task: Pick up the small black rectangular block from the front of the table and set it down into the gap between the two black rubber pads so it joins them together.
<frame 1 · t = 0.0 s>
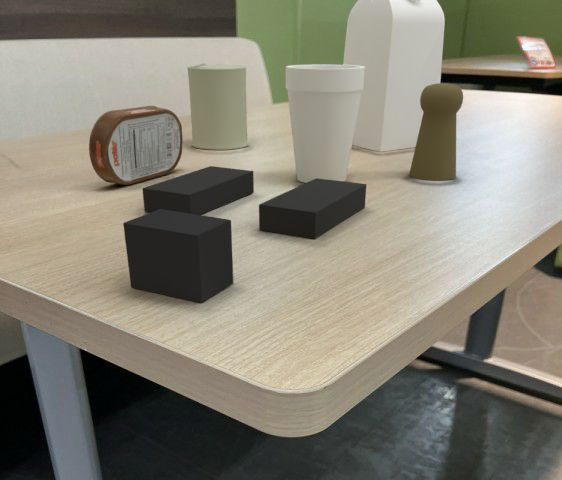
can: (220, 146, 102), on the table
olive knobbed tapered post: (432, 176, 83), on the table
black rectangular block: (182, 285, 48), on the table
pad pair: (256, 209, 67), on the table
milk: (384, 144, 105), on the table
tin: (144, 180, 80), on the table
foam cup: (321, 180, 81), on the table
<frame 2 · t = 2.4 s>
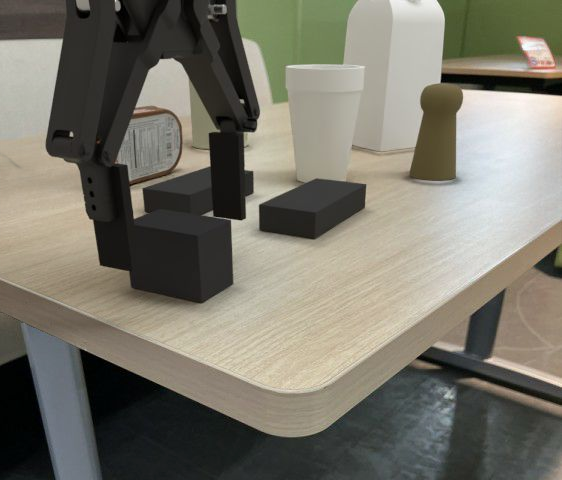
hand: (180, 240, 46), 4 cm above the table, tool pointing down, fingers open, 13 cm apart
nothing on the table moved.
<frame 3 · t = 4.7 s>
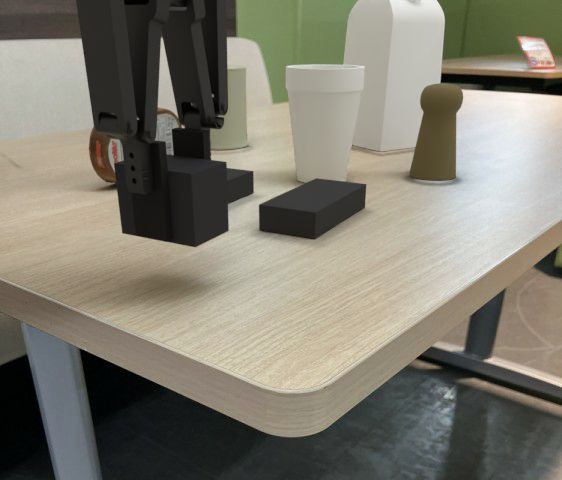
hand: (175, 227, 46), 4 cm above the table, tool pointing down, fingers closed on black rectangular block, 4 cm apart
black rectangular block: (175, 232, 46), point 4 cm above the table, touching gripper
everything else where it was.
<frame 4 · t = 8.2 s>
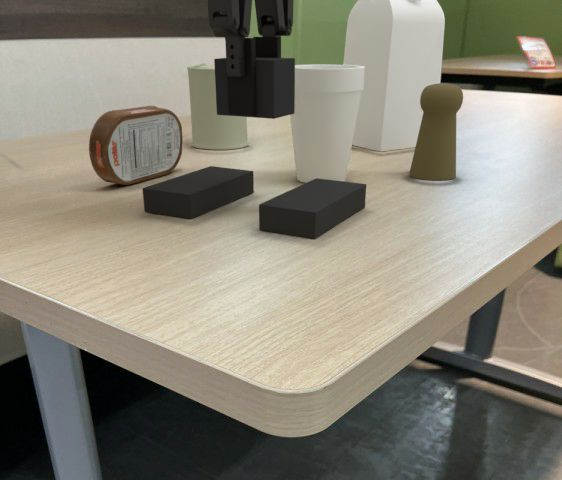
hand: (255, 110, 62), 10 cm above the table, tool pointing down, fingers closed on black rectangular block, 4 cm apart
black rectangular block: (255, 114, 63), point 10 cm above the table, touching gripper
everything else where it was.
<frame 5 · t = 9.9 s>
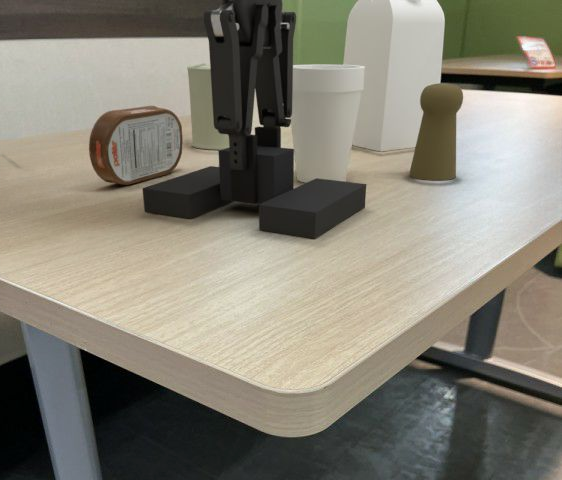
hand: (257, 195, 67), 2 cm above the table, tool pointing down, fingers closed on black rectangular block, 4 cm apart
black rectangular block: (257, 198, 67), point 1 cm above the table, touching gripper
everything else where it was.
when the fingers open (0 cm above the table, at t = 11.7 s): black rectangular block stays where it is, on the table.
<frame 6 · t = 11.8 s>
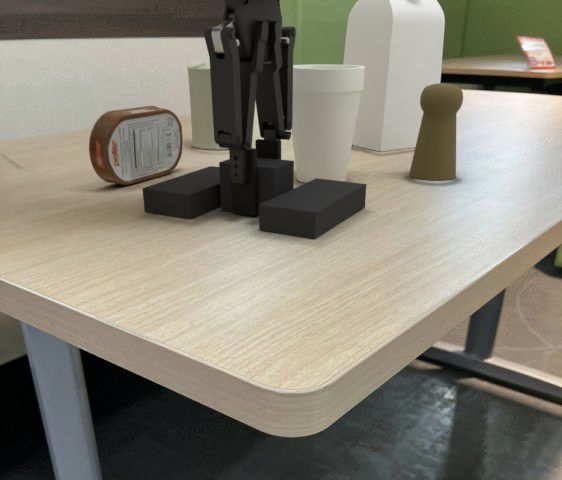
hand: (257, 207, 67), 0 cm above the table, tool pointing down, fingers open, 4 cm apart
black rectangular block: (257, 209, 67), on the table
everything else where it was.
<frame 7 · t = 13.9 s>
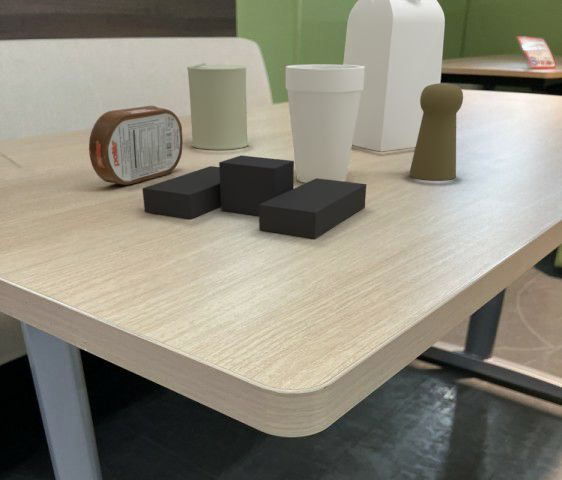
nothing on the table moved.
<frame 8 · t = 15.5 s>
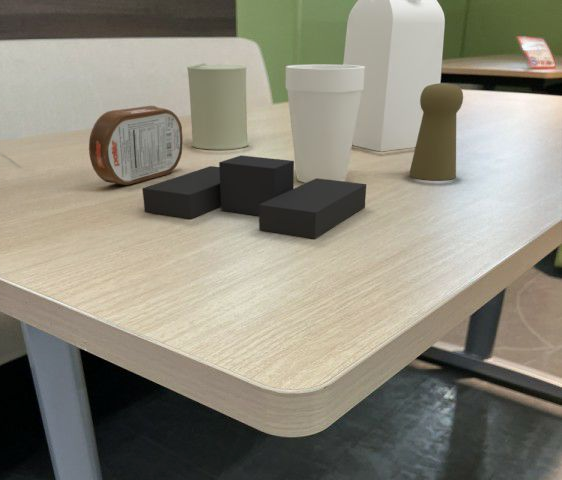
nothing on the table moved.
at the end: black rectangular block inside the target area on the pad pair (0.1 cm from its centre), point 0.0 cm above the pad pair's base; black rectangular block tilted 0°; the gripper is holding nothing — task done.
